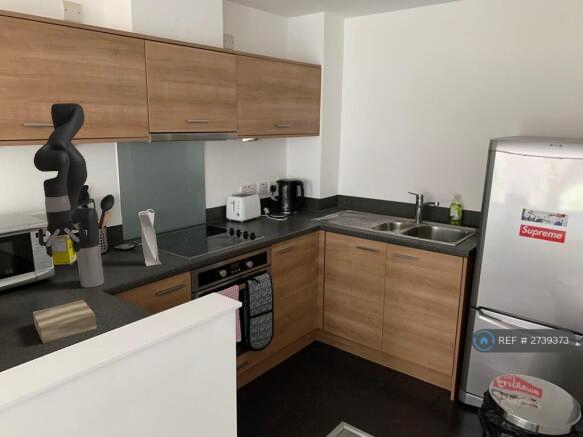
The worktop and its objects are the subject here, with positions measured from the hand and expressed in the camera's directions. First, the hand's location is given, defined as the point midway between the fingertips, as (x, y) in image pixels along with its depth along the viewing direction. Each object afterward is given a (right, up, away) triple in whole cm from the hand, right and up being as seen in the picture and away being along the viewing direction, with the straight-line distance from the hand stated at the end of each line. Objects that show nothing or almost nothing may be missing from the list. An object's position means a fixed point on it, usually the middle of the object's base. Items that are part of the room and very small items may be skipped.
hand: (63, 254), depth 153 cm
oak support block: (+3, -24, -5) cm, 25 cm away
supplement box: (0, -4, +2) cm, 4 cm away
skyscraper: (+12, -10, +60) cm, 62 cm away
